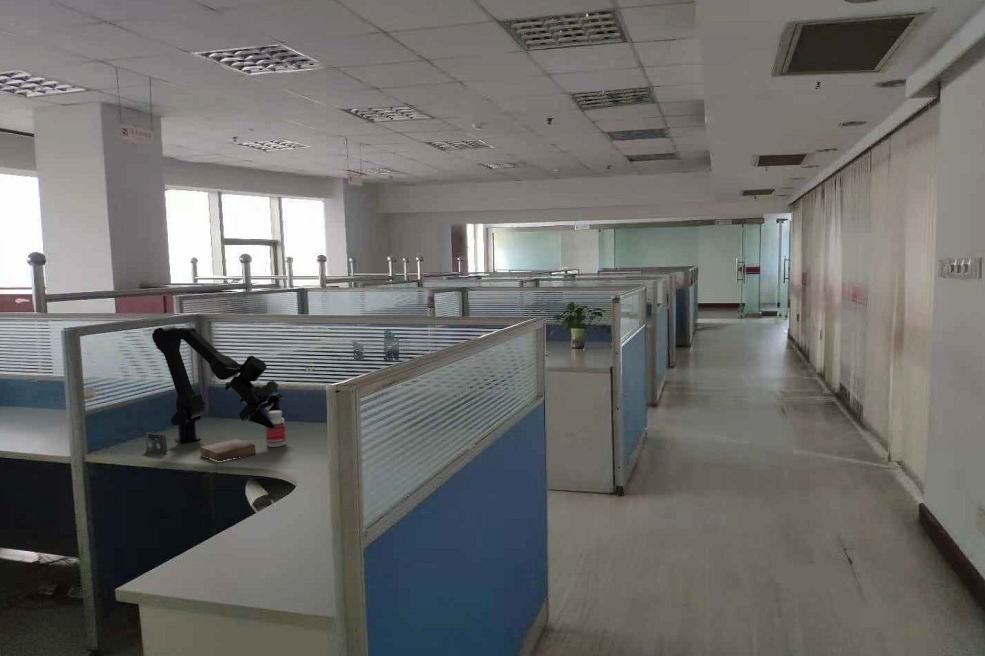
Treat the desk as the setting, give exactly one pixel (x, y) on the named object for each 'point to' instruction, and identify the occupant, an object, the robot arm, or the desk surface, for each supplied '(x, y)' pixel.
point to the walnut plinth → (228, 450)
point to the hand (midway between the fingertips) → (278, 425)
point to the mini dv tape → (156, 442)
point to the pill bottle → (275, 430)
